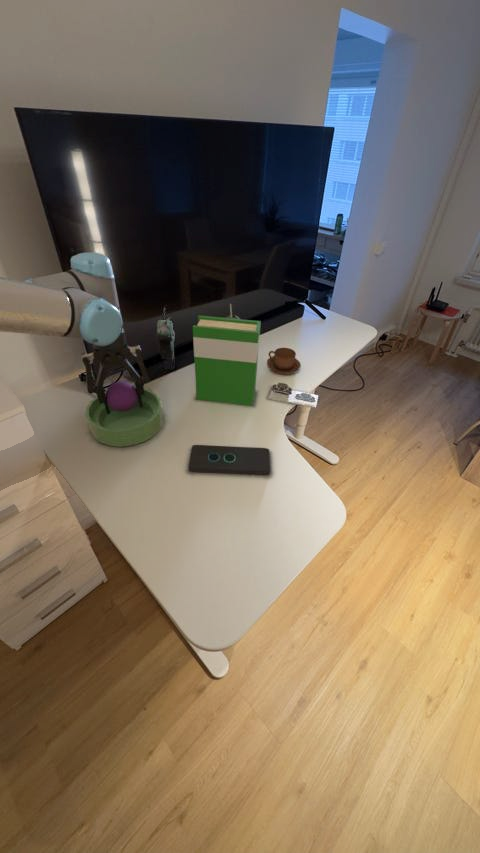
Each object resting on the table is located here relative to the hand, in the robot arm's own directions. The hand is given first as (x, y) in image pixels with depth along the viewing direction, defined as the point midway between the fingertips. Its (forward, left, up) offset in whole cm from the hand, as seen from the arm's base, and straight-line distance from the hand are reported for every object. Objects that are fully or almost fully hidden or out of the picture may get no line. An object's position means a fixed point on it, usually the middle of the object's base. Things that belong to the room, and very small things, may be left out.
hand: (124, 407), depth 93 cm
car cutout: (+40, +32, -6) cm, 51 cm away
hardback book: (+20, +24, -6) cm, 32 cm away
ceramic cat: (-8, +37, -6) cm, 38 cm away
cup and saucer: (+32, +48, -6) cm, 58 cm away
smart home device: (+32, -2, -6) cm, 33 cm away
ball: (0, 0, +4) cm, 4 cm away
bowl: (0, 0, -6) cm, 6 cm away
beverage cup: (+12, +48, -6) cm, 50 cm away
